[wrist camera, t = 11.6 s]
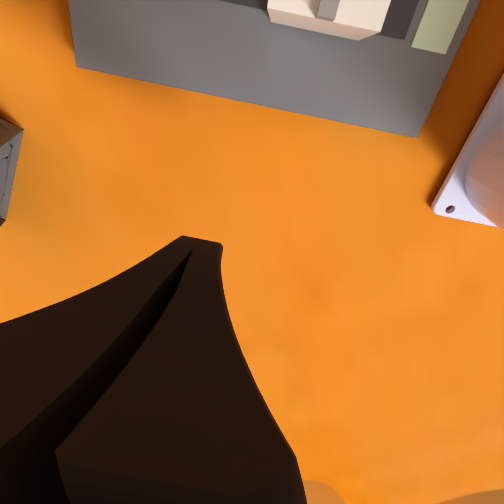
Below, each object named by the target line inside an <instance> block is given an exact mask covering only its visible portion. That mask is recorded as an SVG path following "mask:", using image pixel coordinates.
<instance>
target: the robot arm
mask: <svg viewBox="0 0 504 504" xmlns="http://www.w3.org/2000/svg"><path fill="white" fill-rule="evenodd" d="M450 205H452V207H451V209H450V210H448V211H445V210H446V208H447V207H448V206H450ZM431 210H432V211H433V212H434V213H435V214H437V215H441V216H446V217H451V218H456V219H460V220H465V221H470V222H475V223H480V224H485V225H490V226H495V227H499V228H500V229H502V230H503V231H504V73H503V75H502V77H501V79H500V80H499V82H498V84H497V86H496V88H495V90H494V91H493V93H492V95H491V97H490V99H489V101H488V102H487V104H486V106H485V108H484V110H483V111H482V113H481V115H480V117H479V119H478V121H477V122H476V124H475V126H474V128H473V130H472V132H471V133H470V135H469V137H468V139H467V141H466V142H465V144H464V146H463V148H462V150H461V152H460V153H459V155H458V157H457V159H456V161H455V163H454V164H453V166H452V168H451V170H450V172H449V173H448V175H447V177H446V179H445V181H444V183H443V184H442V186H441V188H440V190H439V192H438V194H437V195H436V197H435V199H434V201H433V203H432V205H431ZM222 252H223V246H222V245H221V243H218V242H213V241H208V240H203V239H198V238H193V237H188V236H183V235H182V236H181V237H179V238H177V239H176V240H174V241H173V242H171V243H170V244H168V245H166V246H165V247H163V248H162V249H160V250H159V251H157V252H156V253H154V254H153V255H151V256H149V257H148V258H146V259H145V260H143V261H141V262H140V263H138V264H137V265H135V266H133V267H131V268H129V269H128V270H126V271H124V272H122V273H120V274H119V275H117V276H115V277H113V278H111V279H109V280H108V281H106V282H104V283H102V284H99V285H97V286H95V287H93V288H91V289H89V290H87V291H84V292H82V293H80V294H78V295H75V296H73V297H71V298H68V299H66V300H64V301H61V302H58V303H56V304H53V305H50V306H48V307H45V308H42V309H40V310H37V311H34V312H32V313H29V314H26V315H23V316H21V317H18V318H15V319H12V320H9V321H6V322H3V323H0V504H307V501H306V496H305V491H304V486H303V482H302V478H301V474H300V470H299V466H298V463H297V459H296V456H295V454H294V452H293V450H292V449H291V447H290V445H289V444H288V442H287V440H286V439H285V437H284V435H283V433H282V432H281V430H280V428H279V426H278V425H277V423H276V421H275V419H274V417H273V416H272V414H271V412H270V410H269V408H268V406H267V404H266V403H265V401H264V399H263V397H262V395H261V393H260V391H259V389H258V387H257V385H256V383H255V380H254V378H253V376H252V374H251V371H250V369H249V367H248V365H247V362H246V360H245V358H244V356H243V353H242V351H241V348H240V346H239V343H238V340H237V338H236V335H235V332H234V329H233V326H232V323H231V319H230V316H229V312H228V308H227V304H226V300H225V295H224V290H223V284H222V276H221V258H222Z"/></svg>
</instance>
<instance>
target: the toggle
mask: <svg viewBox="0 0 504 504" xmlns="http://www.w3.org/2000/svg"><path fill="white" fill-rule="evenodd" d="M390 2H391V0H268V5H267V10H268V13H269V17H270V20H271V22H273V23H277V24H282V25H287V26H291V27H296V28H301V29H306V30H310V31H315V32H320V33H324V34H329V35H334V36H338V37H343V38H348V39H352V40H357V41H359V40H361V39H364V38H366V37H369V36H372V35H374V34H377V33H379V32H381V29H382V26H383V23H384V20H385V17H386V14H387V11H388V8H389V5H390Z"/></svg>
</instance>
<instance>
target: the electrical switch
mask: <svg viewBox="0 0 504 504" xmlns="http://www.w3.org/2000/svg"><path fill="white" fill-rule="evenodd" d="M23 130H24V129H22V128H20V127H18V126H16V125H14V124H11V123H9V122H7V121H5V120H3V119H1V118H0V226H1V225H2V224H3V223H4V222H5V220H6V219H3V218H1V217H4V218H6V216H7V211H8V206H9V201H10V196H11V191H12V185H13V180H14V175H15V170H16V165H17V160H18V155H19V149H20V144H21V139H22V134H23ZM10 144H11V145H12V148H11V146H10ZM8 155H9V156H8ZM7 156H8V158H7V159H4V158H6V157H7ZM3 193H4V195H3Z"/></svg>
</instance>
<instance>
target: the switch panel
mask: <svg viewBox="0 0 504 504" xmlns="http://www.w3.org/2000/svg"><path fill="white" fill-rule="evenodd" d="M480 1H481V0H391V2H390V5H389V8H388V11H387V14H386V17H385V20H384V23H383V26H382V29H381V32H379V33H377V34H374V35H372V36H369V37H366V38H364V39H361V40H359V41H357V40H352V39H348V38H343V37H338V36H334V35H329V34H324V33H320V32H315V31H310V30H306V29H301V28H296V27H291V26H287V25H282V24H277V23H273V22H271V20H270V17H269V13H268V10H267V5H268V0H68V4H69V12H70V20H71V28H72V36H73V44H74V52H75V60H76V67H79V68H84V69H89V70H94V71H99V72H103V73H108V74H113V75H118V76H122V77H127V78H132V79H137V80H142V81H146V82H151V83H156V84H161V85H166V86H170V87H175V88H180V89H185V90H189V91H194V92H199V93H204V94H209V95H213V96H218V97H223V98H228V99H233V100H237V101H242V102H247V103H252V104H256V105H261V106H266V107H271V108H276V109H280V110H285V111H290V112H295V113H299V114H304V115H309V116H314V117H319V118H323V119H328V120H333V121H338V122H343V123H347V124H352V125H357V126H362V127H366V128H371V129H376V130H381V131H386V132H390V133H395V134H400V135H405V136H409V137H414V138H418V136H419V134H420V131H421V129H422V127H423V125H424V123H425V121H426V118H427V116H428V114H429V112H430V110H431V108H432V105H433V103H434V101H435V99H436V97H437V94H438V92H439V90H440V88H441V86H442V84H443V81H444V79H445V77H446V75H447V73H448V71H449V68H450V66H451V64H452V62H453V60H454V58H455V55H456V53H457V51H458V49H459V47H460V44H461V42H462V40H463V38H464V36H465V34H466V31H467V29H468V27H469V25H470V23H471V21H472V18H473V16H474V14H475V12H476V10H477V7H478V5H479V3H480Z"/></svg>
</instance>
